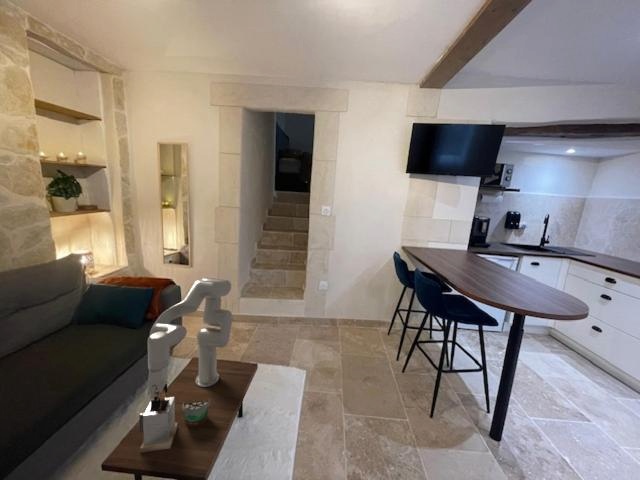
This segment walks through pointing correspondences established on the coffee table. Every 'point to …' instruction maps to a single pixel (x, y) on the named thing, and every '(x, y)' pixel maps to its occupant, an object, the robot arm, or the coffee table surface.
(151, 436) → the press sleeve
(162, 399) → the plunger
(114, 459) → the coffee table surface
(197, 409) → the food container
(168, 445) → the base
